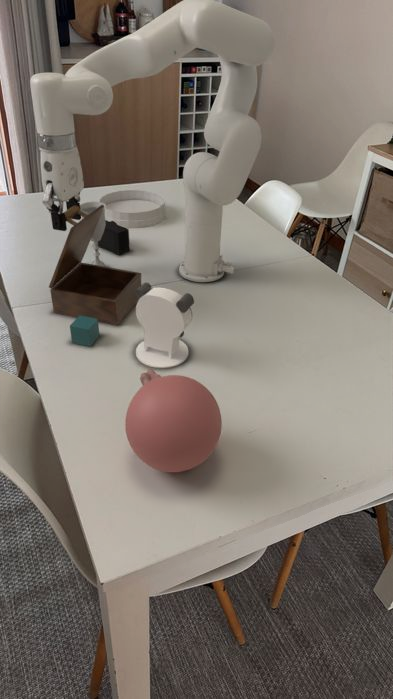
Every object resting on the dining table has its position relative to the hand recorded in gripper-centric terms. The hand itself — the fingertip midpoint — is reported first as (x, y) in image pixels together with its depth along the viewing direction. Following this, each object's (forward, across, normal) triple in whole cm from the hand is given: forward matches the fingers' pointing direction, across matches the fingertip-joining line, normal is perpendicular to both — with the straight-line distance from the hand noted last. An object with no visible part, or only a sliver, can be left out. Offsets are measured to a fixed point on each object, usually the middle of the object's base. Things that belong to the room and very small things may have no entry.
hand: (67, 223), depth 115 cm
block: (+20, -15, -10) cm, 27 cm away
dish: (+20, +57, +8) cm, 61 cm away
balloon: (+20, -40, -38) cm, 59 cm away
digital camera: (+20, +31, +4) cm, 37 cm away
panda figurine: (+20, -14, -28) cm, 37 cm away
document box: (+20, 0, -6) cm, 21 cm away
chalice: (+20, +16, +2) cm, 26 cm away
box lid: (+5, 0, -2) cm, 6 cm away
